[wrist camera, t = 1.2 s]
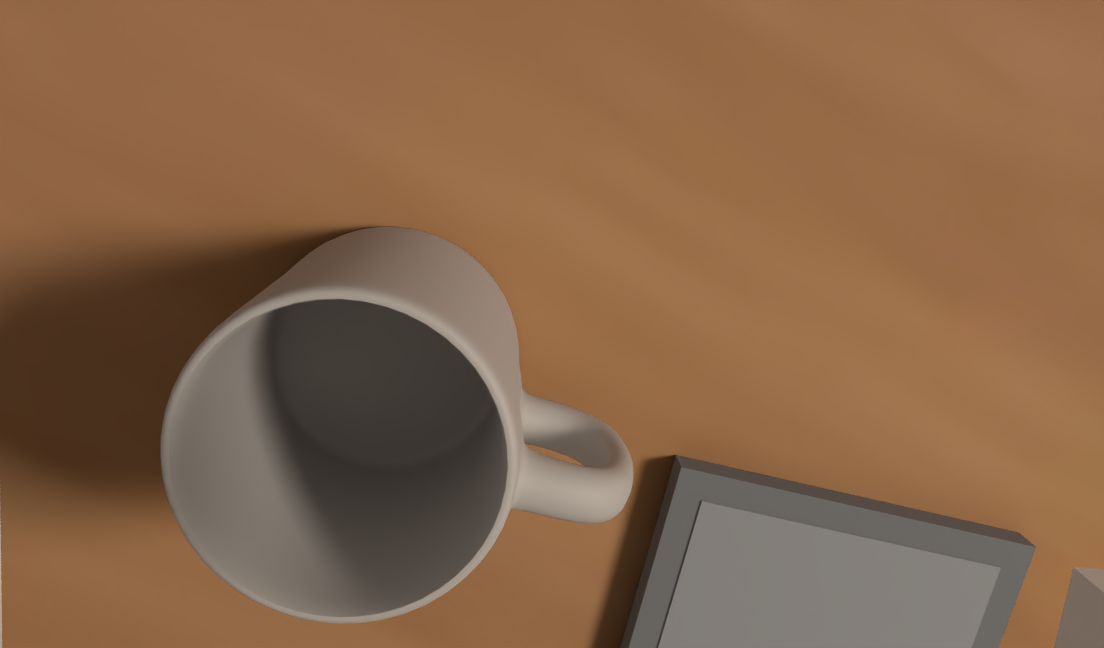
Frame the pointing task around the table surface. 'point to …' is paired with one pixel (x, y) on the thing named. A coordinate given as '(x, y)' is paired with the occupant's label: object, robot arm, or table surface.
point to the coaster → (816, 569)
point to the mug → (371, 433)
